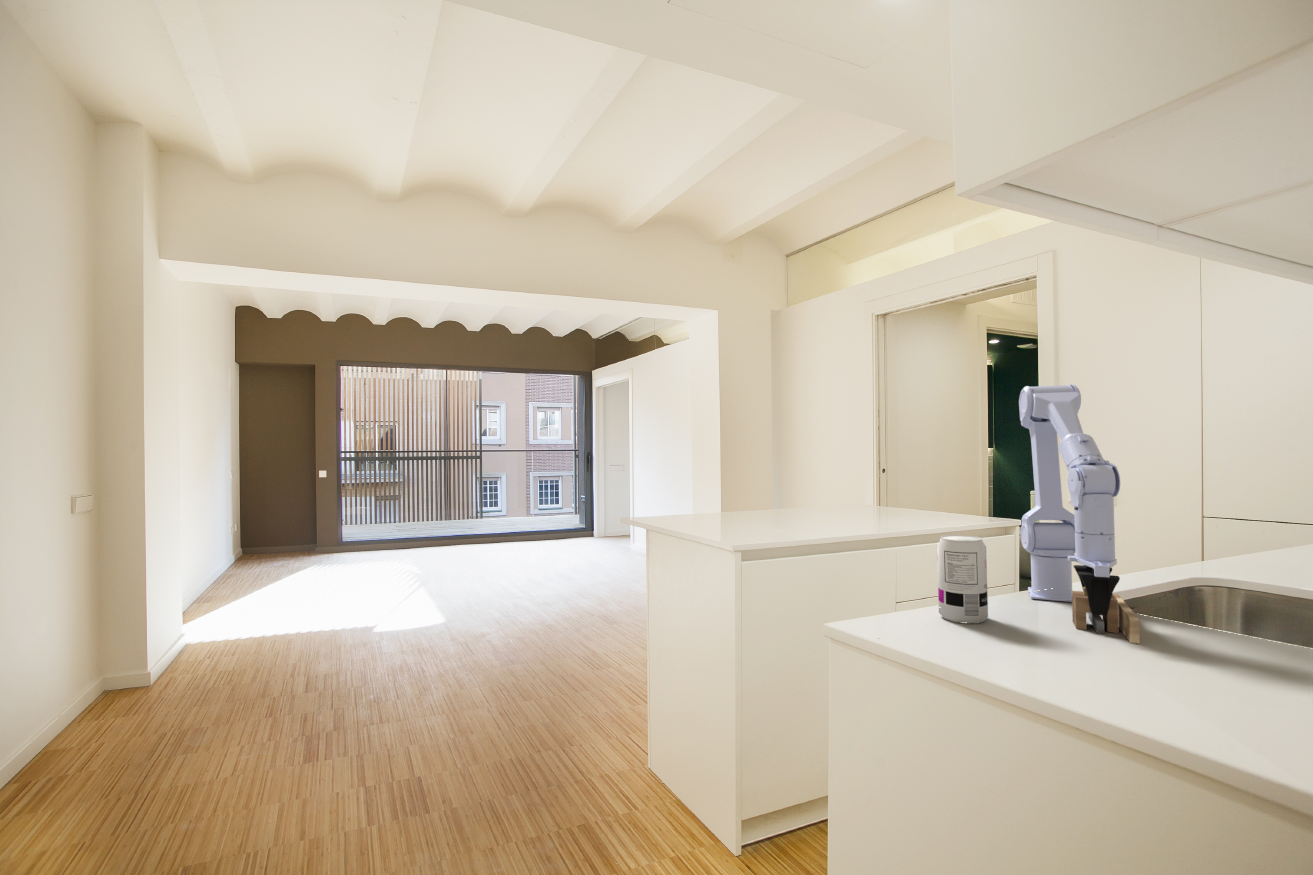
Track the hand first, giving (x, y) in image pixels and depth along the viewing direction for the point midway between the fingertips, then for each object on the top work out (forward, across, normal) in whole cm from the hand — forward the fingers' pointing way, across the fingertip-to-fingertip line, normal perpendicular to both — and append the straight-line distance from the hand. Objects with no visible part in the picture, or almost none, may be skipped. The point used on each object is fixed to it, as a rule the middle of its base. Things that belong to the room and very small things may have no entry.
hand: (1096, 610), depth 110 cm
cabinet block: (+3, 0, 0) cm, 3 cm away
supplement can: (+3, +3, -21) cm, 21 cm away
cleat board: (+3, -1, +2) cm, 4 cm away
